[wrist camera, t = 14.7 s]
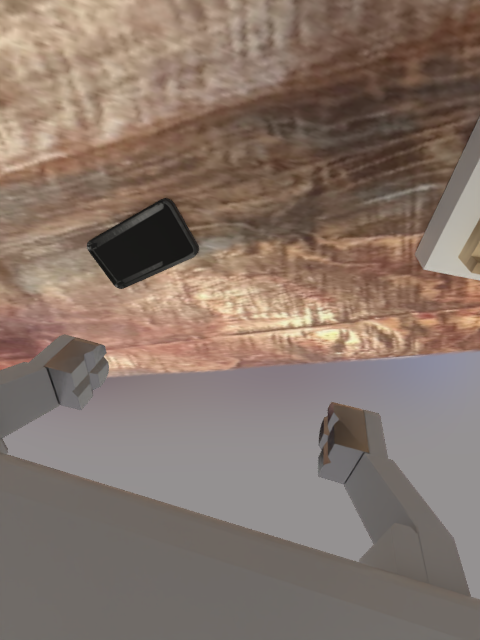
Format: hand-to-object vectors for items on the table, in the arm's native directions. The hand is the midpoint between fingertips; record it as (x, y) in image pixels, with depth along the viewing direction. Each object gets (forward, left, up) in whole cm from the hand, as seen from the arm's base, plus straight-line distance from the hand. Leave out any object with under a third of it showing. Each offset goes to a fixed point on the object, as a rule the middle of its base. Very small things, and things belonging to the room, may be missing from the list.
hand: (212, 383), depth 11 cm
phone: (+10, -18, -30) cm, 36 cm away
